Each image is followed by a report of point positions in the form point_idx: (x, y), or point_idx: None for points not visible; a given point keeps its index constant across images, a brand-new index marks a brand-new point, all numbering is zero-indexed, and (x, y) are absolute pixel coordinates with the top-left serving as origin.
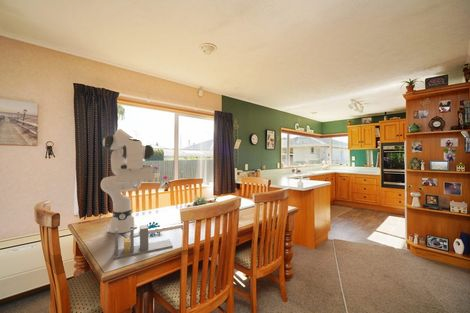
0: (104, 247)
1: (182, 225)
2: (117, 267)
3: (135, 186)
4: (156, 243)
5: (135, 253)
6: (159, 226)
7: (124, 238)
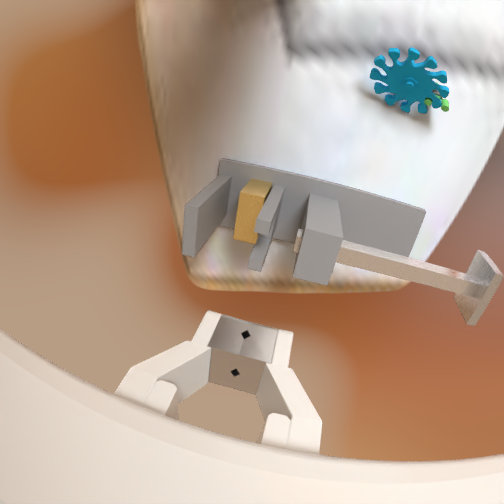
0: (194, 95)
1: (469, 294)
2: (219, 273)
3: (237, 381)
4: (371, 212)
5: (279, 238)
6: (445, 97)
7: (241, 199)
